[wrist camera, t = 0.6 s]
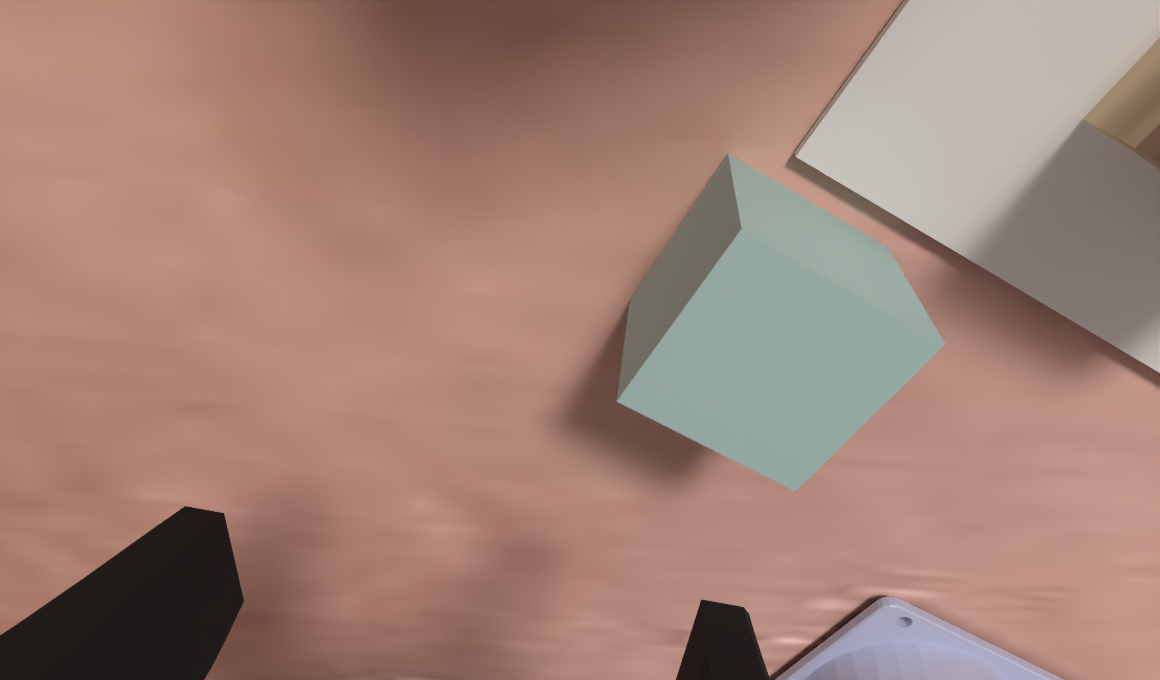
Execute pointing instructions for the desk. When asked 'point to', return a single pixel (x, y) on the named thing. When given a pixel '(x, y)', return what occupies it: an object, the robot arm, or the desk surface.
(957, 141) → the mat
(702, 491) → the desk surface
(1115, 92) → the tower base
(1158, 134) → the tower mid
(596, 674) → the desk surface
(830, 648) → the robot arm
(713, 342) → the block
